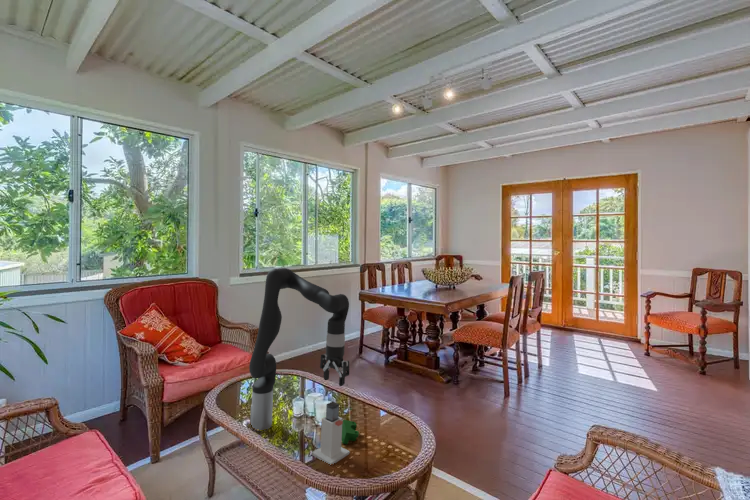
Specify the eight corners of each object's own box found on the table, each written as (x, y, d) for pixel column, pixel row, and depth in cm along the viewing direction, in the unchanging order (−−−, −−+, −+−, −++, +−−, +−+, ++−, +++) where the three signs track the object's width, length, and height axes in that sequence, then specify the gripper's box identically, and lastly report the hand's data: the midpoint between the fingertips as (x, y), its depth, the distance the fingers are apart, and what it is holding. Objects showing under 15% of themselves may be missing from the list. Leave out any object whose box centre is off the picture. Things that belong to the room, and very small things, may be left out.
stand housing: (311, 454, 150) (313, 418, 150) (330, 443, 159) (332, 409, 158) (330, 466, 144) (332, 428, 143) (349, 453, 152) (351, 418, 152)
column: (324, 451, 151) (326, 404, 150) (330, 447, 154) (332, 401, 153) (330, 455, 149) (332, 407, 148) (337, 451, 152) (339, 404, 151)
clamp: (352, 452, 161) (359, 438, 157) (339, 450, 160) (346, 436, 156) (352, 428, 172) (358, 415, 168) (340, 426, 170) (346, 412, 167)
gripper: (316, 341, 151) (315, 380, 152) (342, 349, 142) (340, 390, 143) (329, 338, 157) (327, 375, 158) (354, 345, 148) (352, 384, 149)
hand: (333, 382), depth 150 cm, fingers open, 8 cm apart
